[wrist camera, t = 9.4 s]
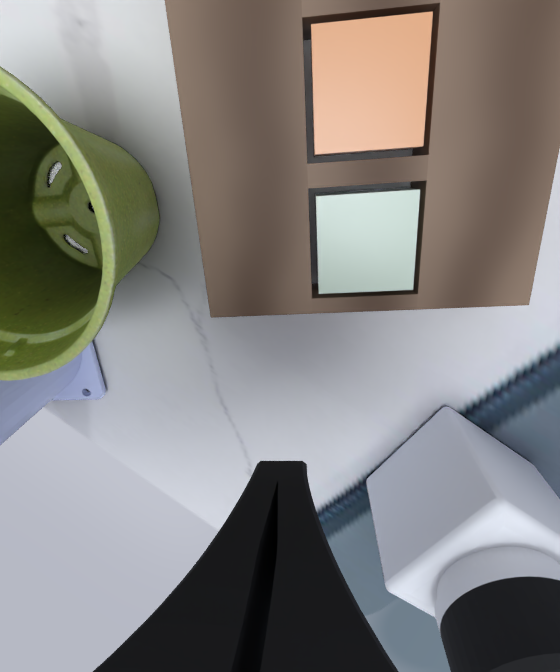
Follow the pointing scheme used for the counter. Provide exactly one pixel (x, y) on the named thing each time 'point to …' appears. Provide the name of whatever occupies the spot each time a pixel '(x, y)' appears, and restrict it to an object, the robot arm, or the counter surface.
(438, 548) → the medicine bottle
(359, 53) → the button terracotta
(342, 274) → the button sage
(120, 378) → the counter surface
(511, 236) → the button panel
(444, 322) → the counter surface
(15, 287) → the plant pot
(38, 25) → the counter surface
